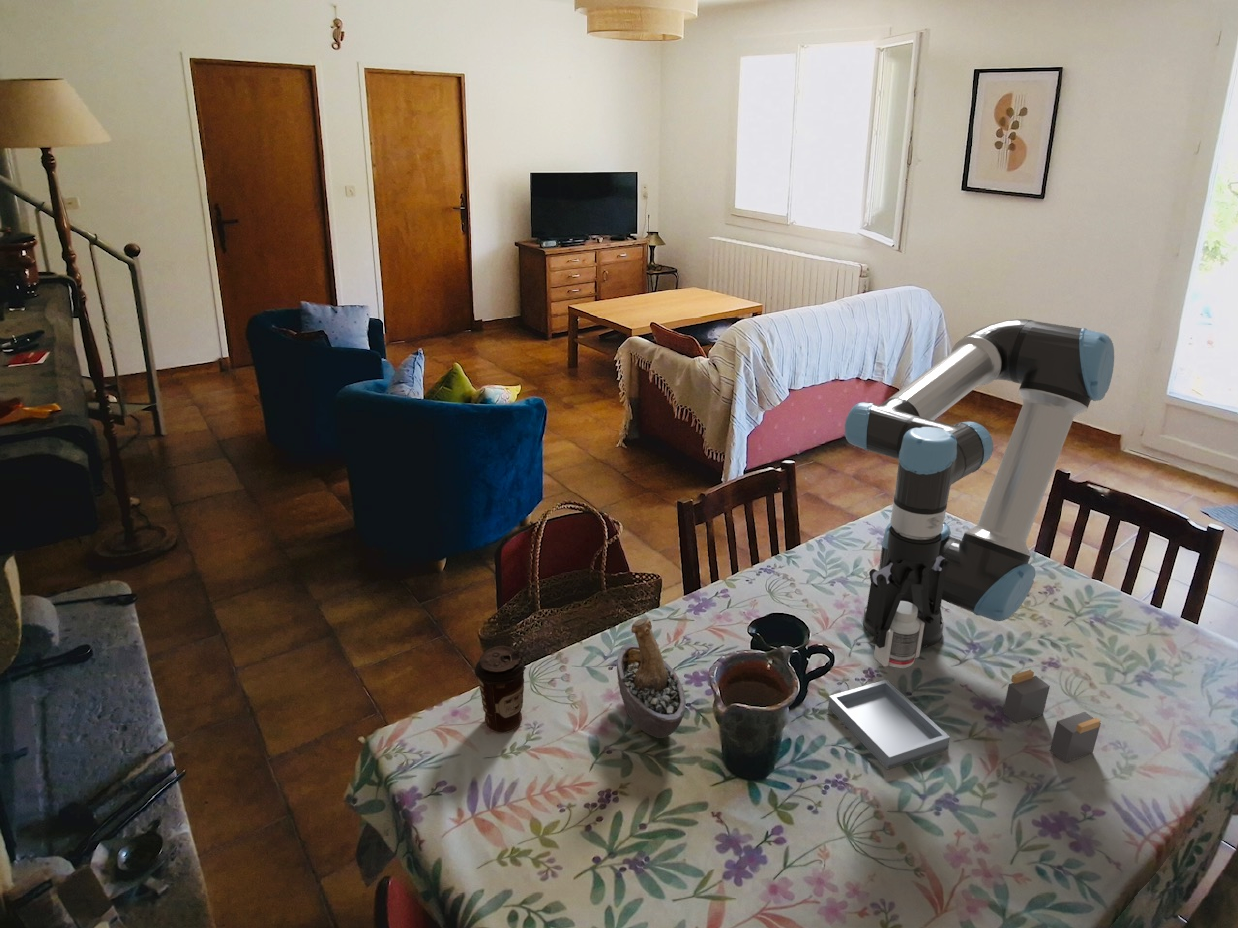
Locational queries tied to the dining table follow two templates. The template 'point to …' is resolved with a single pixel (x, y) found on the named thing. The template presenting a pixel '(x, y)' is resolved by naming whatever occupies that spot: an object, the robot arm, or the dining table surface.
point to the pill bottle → (904, 635)
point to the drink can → (501, 687)
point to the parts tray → (888, 723)
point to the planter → (649, 684)
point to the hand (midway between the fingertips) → (896, 656)
